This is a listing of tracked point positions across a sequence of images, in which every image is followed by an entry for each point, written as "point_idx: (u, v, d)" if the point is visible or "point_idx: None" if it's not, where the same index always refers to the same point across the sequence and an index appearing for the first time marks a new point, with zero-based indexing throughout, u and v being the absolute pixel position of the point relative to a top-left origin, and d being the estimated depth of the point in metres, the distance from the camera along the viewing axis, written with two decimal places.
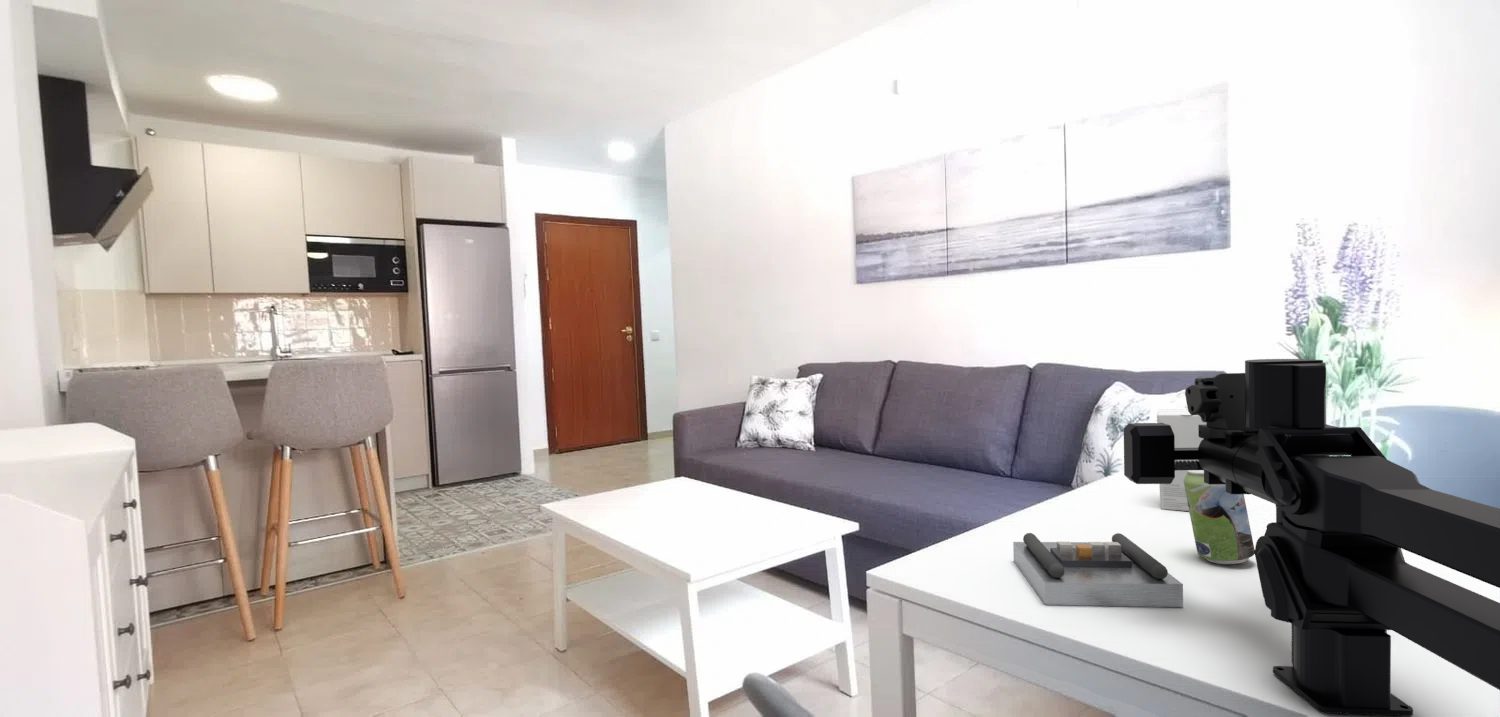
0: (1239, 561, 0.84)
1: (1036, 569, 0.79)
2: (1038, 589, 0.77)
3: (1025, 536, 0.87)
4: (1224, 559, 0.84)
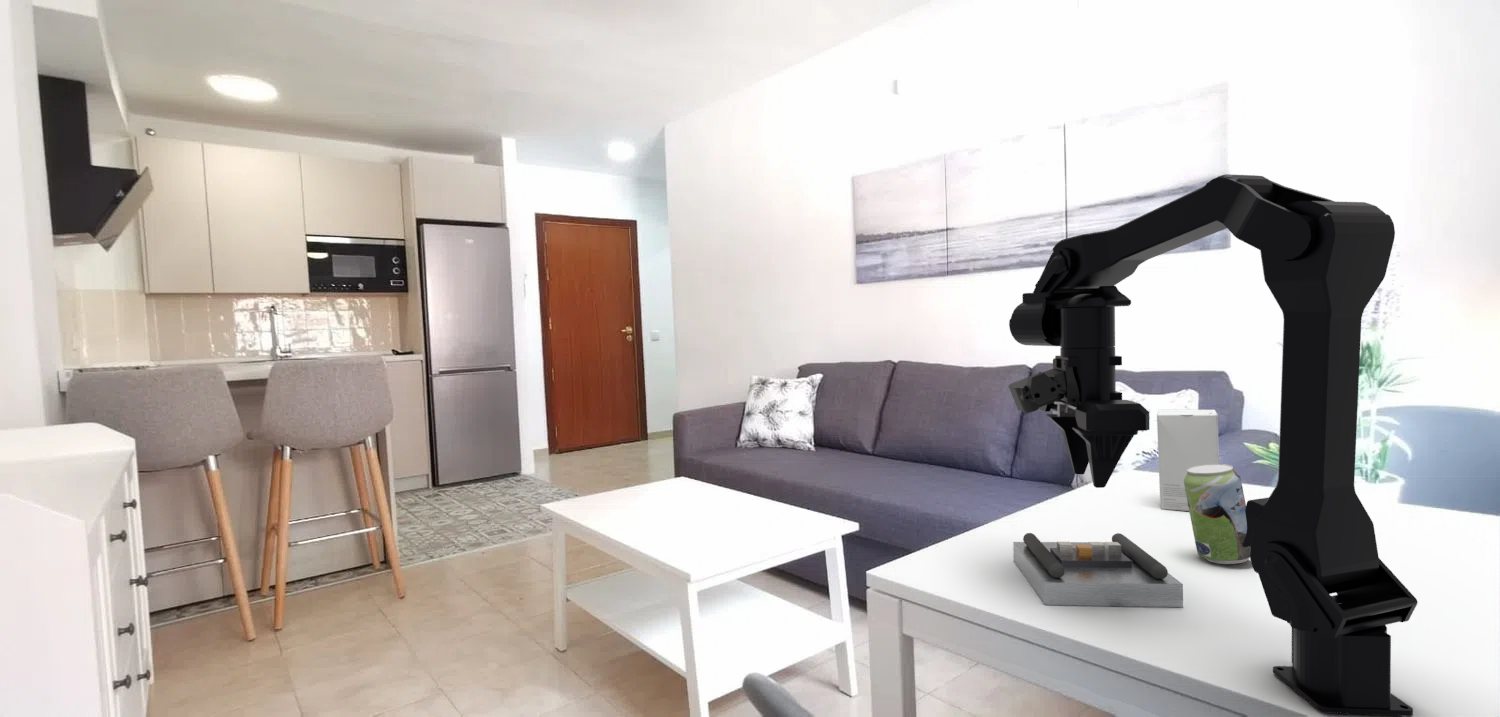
0: (1239, 561, 0.84)
1: (1036, 569, 0.79)
2: (1038, 589, 0.77)
3: (1025, 536, 0.87)
4: (1224, 559, 0.84)
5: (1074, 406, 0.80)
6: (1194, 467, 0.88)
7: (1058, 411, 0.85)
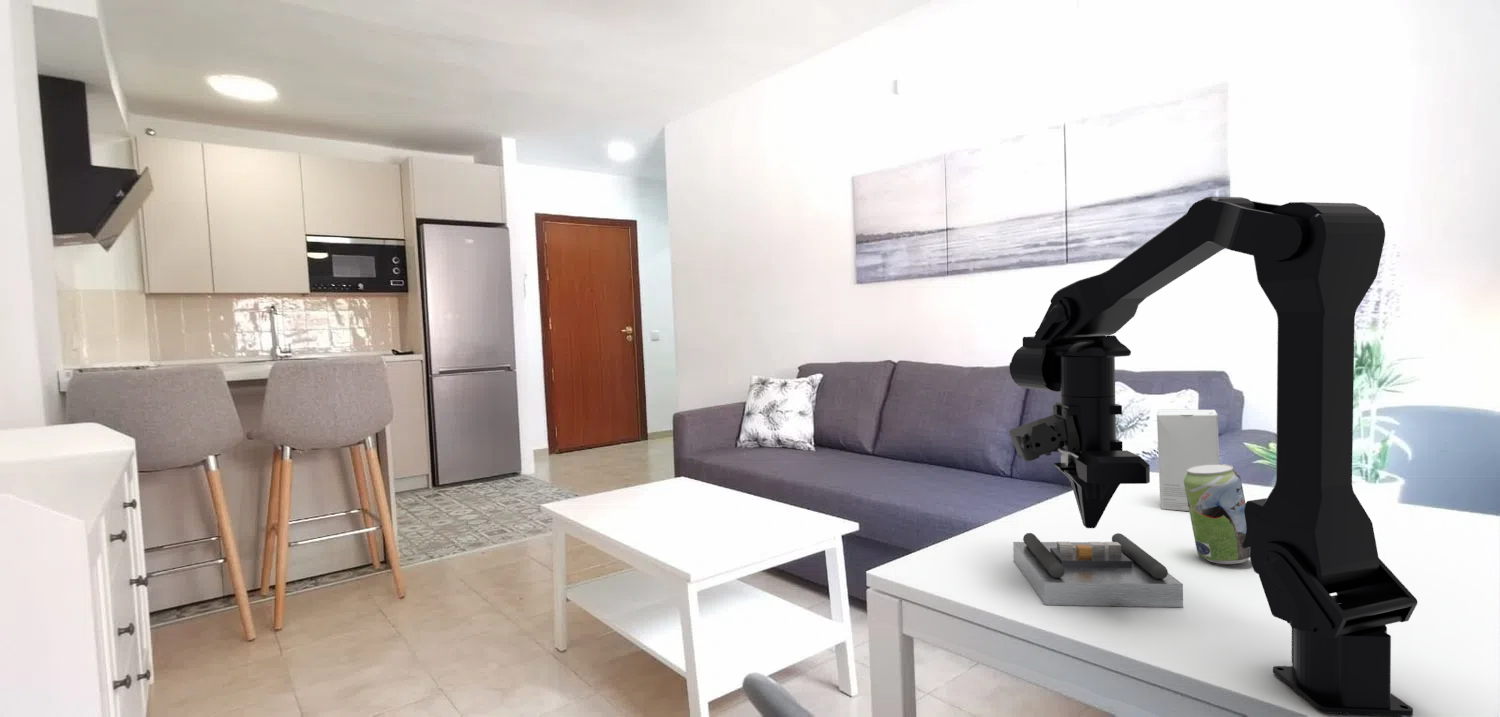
0: (1239, 561, 0.84)
1: (1036, 569, 0.79)
2: (1038, 589, 0.77)
3: (1025, 536, 0.87)
4: (1224, 559, 0.84)
5: None
6: (1194, 467, 0.88)
7: (1067, 461, 0.82)
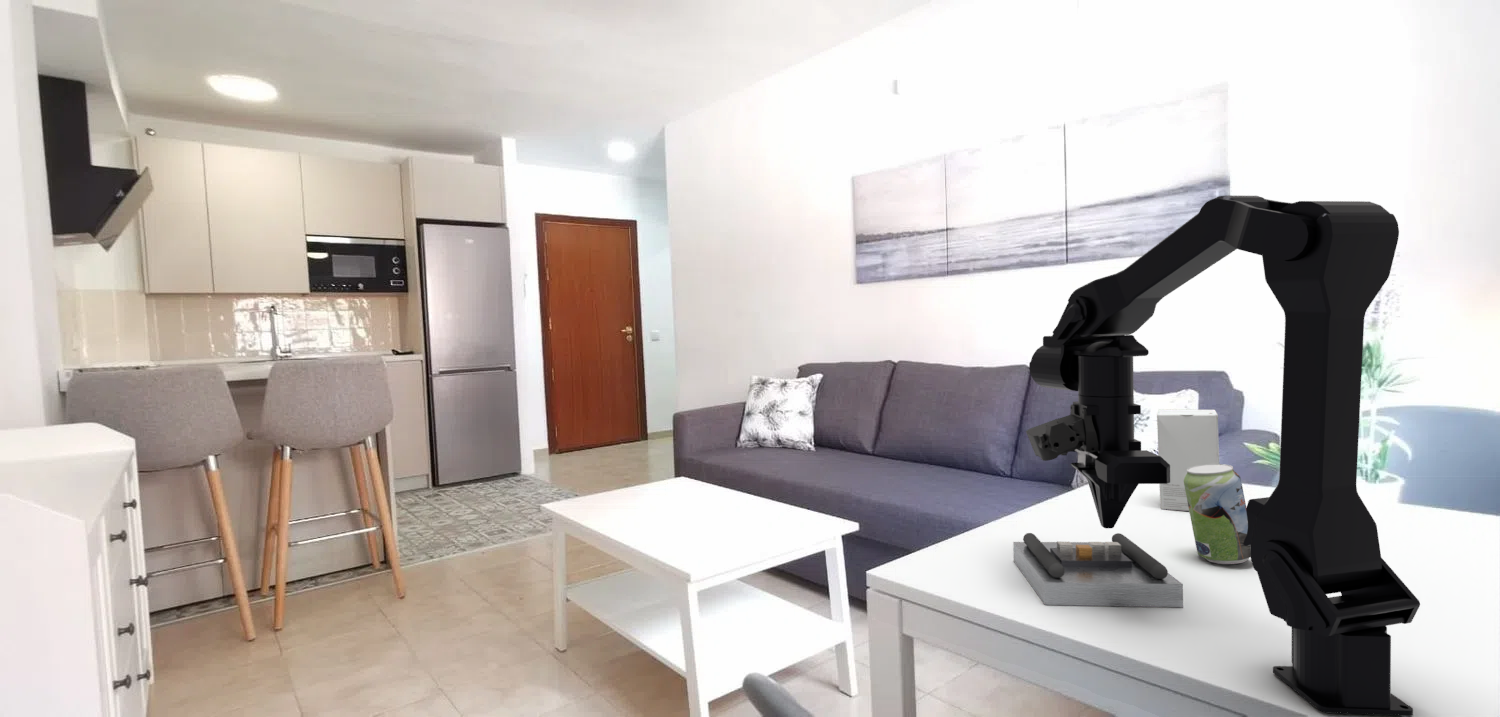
0: (1239, 561, 0.84)
1: (1036, 569, 0.79)
2: (1038, 589, 0.77)
3: (1025, 536, 0.87)
4: (1224, 559, 0.84)
5: None
6: (1194, 467, 0.88)
7: (1084, 461, 0.81)
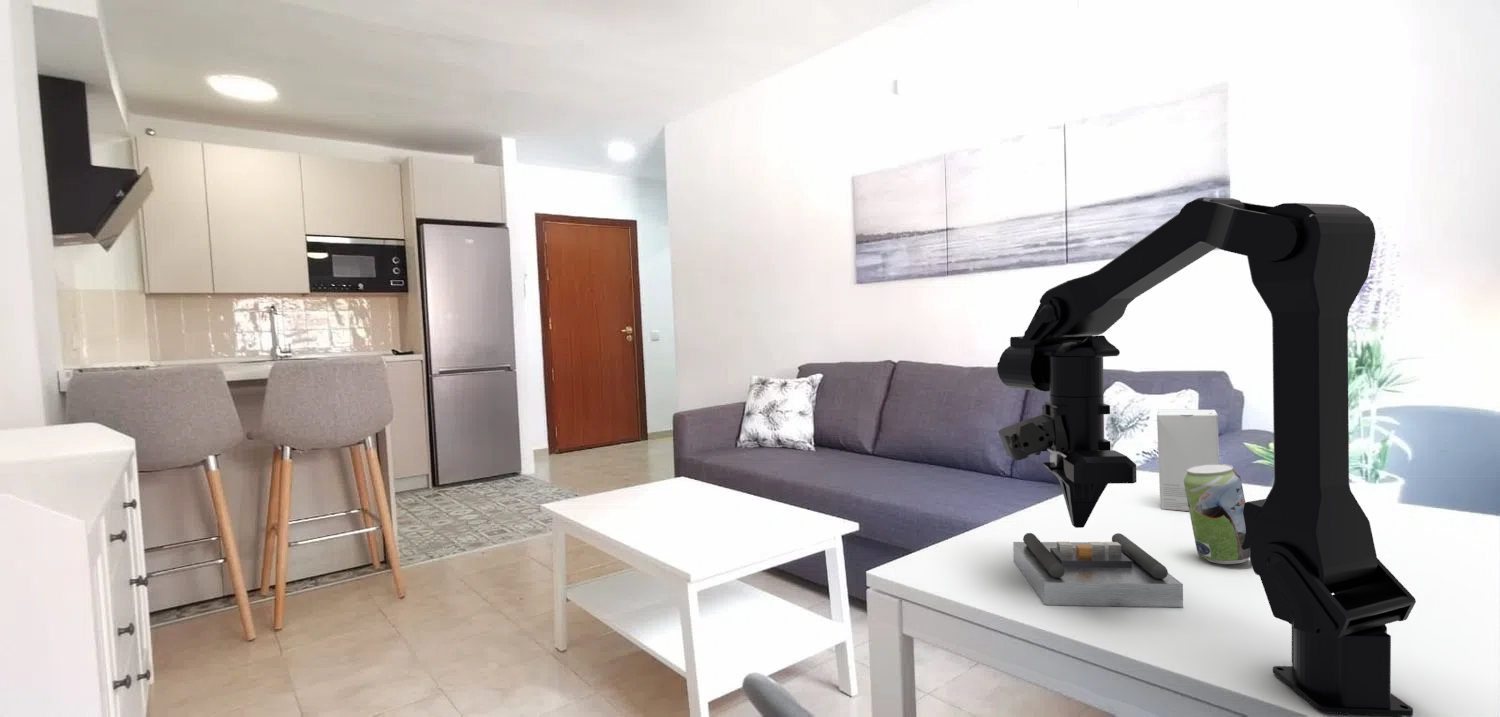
0: (1239, 561, 0.84)
1: (1036, 569, 0.79)
2: (1038, 589, 0.77)
3: (1025, 536, 0.87)
4: (1224, 559, 0.84)
5: None
6: (1194, 467, 0.88)
7: (1055, 461, 0.82)
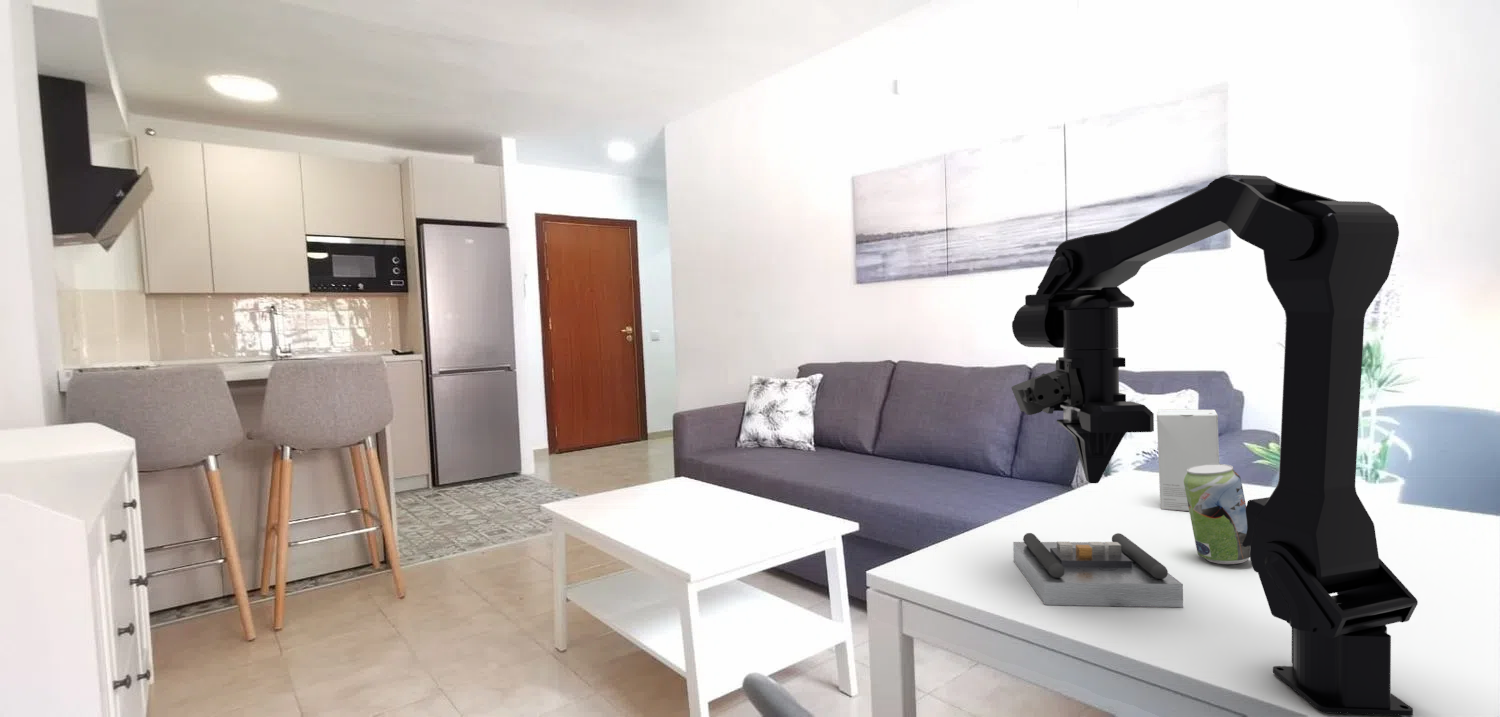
0: (1239, 561, 0.84)
1: (1036, 569, 0.79)
2: (1038, 589, 0.77)
3: (1025, 536, 0.87)
4: (1224, 559, 0.84)
5: None
6: (1194, 467, 0.88)
7: (1069, 416, 0.81)
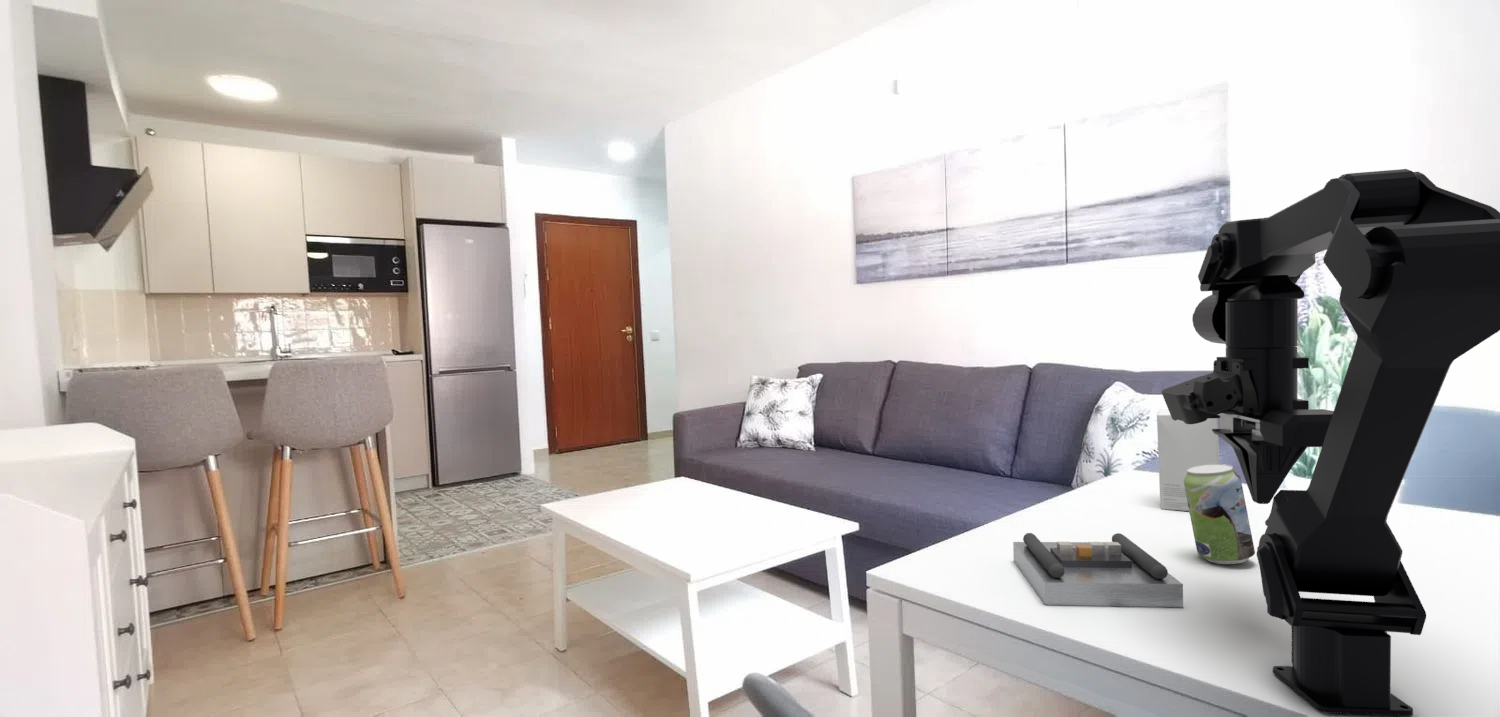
0: (1239, 561, 0.84)
1: (1036, 569, 0.79)
2: (1038, 589, 0.77)
3: (1025, 536, 0.87)
4: (1224, 559, 0.84)
5: None
6: (1194, 467, 0.88)
7: (1232, 426, 0.70)
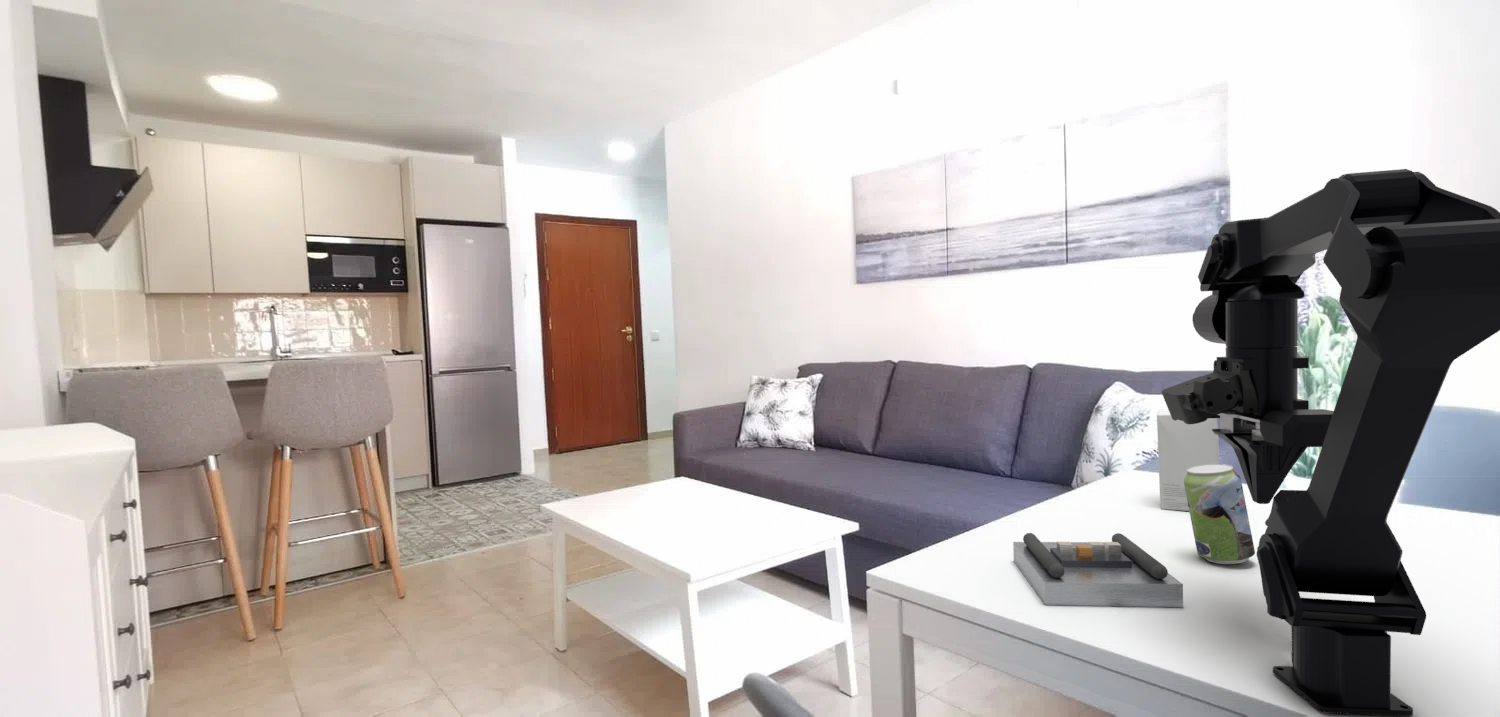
0: (1239, 561, 0.84)
1: (1036, 569, 0.79)
2: (1038, 589, 0.77)
3: (1025, 536, 0.87)
4: (1224, 559, 0.84)
5: None
6: (1194, 467, 0.88)
7: (1232, 426, 0.70)
